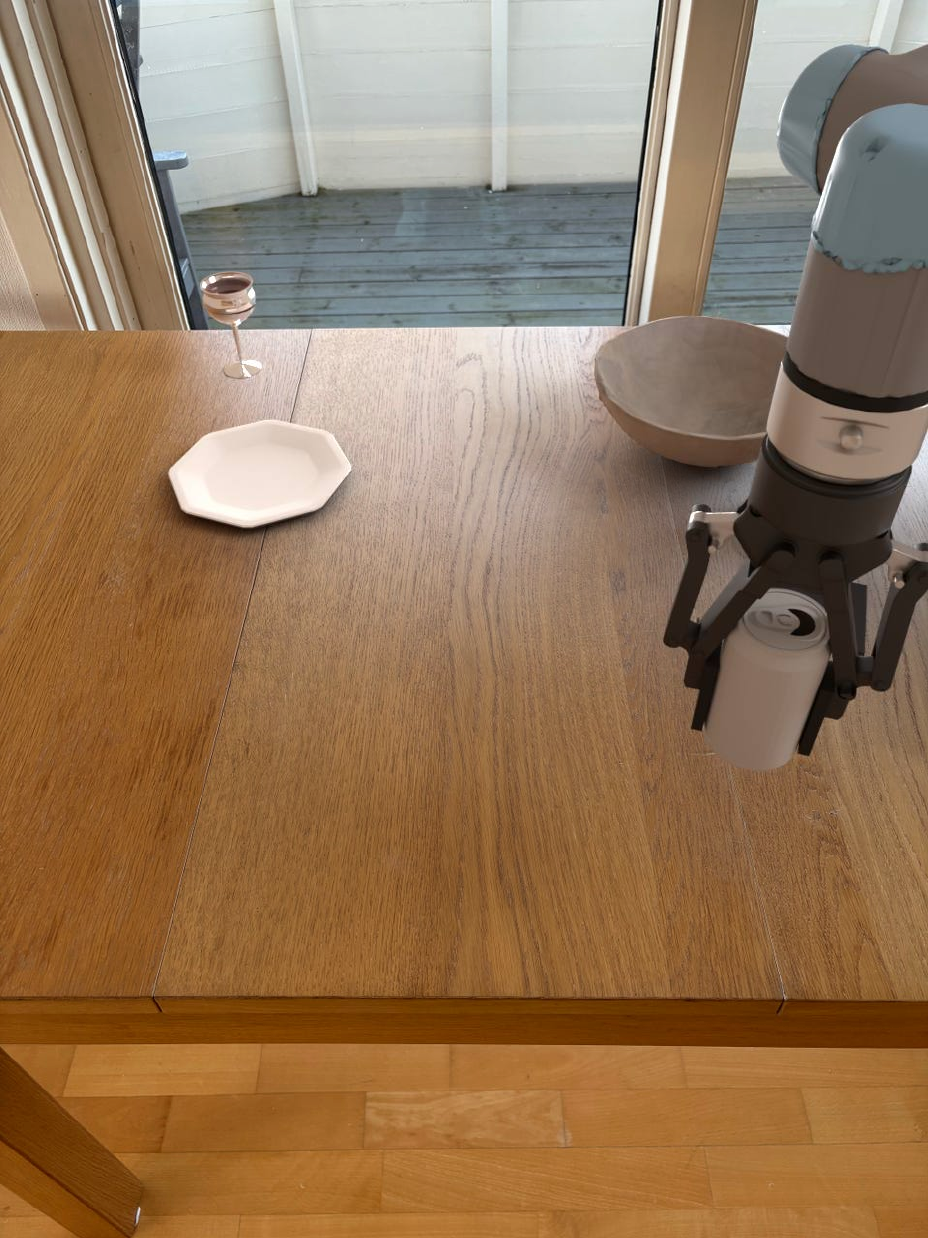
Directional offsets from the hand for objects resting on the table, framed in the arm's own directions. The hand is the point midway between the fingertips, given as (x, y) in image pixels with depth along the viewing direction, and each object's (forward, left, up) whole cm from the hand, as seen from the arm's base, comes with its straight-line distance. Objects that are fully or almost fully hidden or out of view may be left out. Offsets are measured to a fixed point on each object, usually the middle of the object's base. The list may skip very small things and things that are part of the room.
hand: (751, 727), depth 65 cm
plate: (+56, -33, -15) cm, 67 cm away
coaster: (-6, -30, -14) cm, 33 cm away
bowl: (+9, -56, -15) cm, 58 cm away
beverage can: (0, 0, -2) cm, 2 cm away
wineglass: (+70, -55, -15) cm, 90 cm away
